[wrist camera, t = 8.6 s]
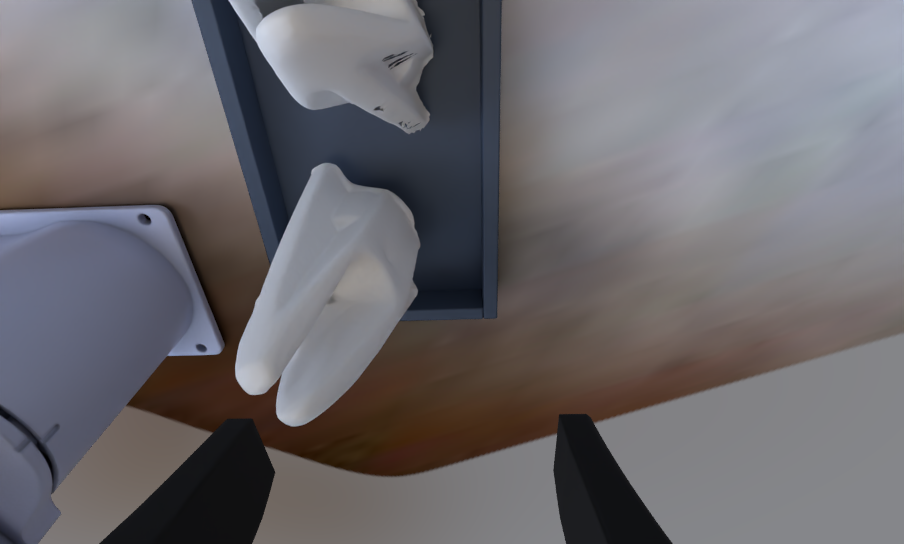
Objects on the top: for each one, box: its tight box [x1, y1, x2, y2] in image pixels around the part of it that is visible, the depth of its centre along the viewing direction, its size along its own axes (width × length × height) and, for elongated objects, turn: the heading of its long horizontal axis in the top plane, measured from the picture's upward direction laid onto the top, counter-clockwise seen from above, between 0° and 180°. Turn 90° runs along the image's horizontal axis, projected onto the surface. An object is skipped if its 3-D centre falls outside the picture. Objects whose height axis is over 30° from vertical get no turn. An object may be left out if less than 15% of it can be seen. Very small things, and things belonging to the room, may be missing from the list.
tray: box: [192, 0, 502, 321], centre depth 14 cm, size 9×23×2 cm, turn 2°
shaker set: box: [228, 0, 433, 426], centre depth 12 cm, size 12×4×11 cm, turn 175°
